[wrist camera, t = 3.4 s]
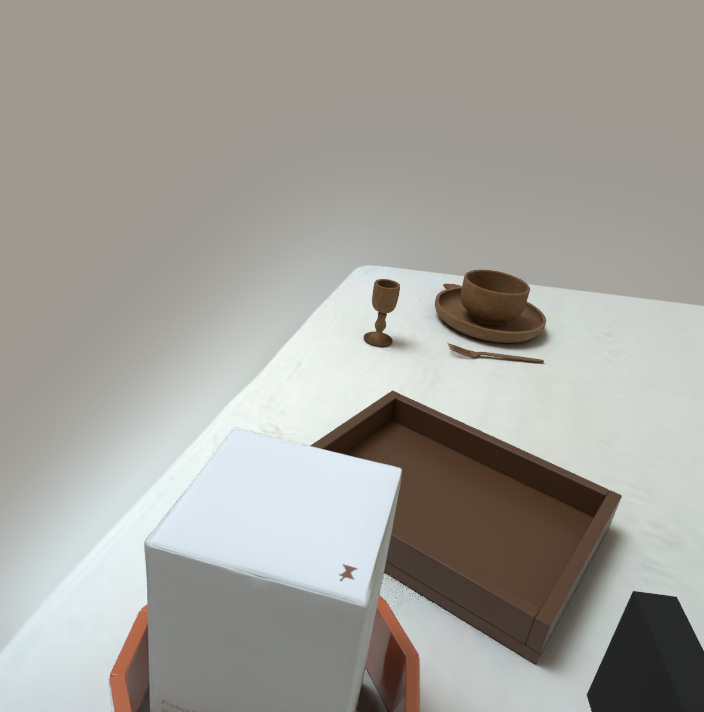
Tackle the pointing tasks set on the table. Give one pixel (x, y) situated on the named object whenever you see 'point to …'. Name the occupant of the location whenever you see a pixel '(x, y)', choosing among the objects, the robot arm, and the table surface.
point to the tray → (480, 520)
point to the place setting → (472, 310)
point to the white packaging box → (268, 579)
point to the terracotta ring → (384, 663)
